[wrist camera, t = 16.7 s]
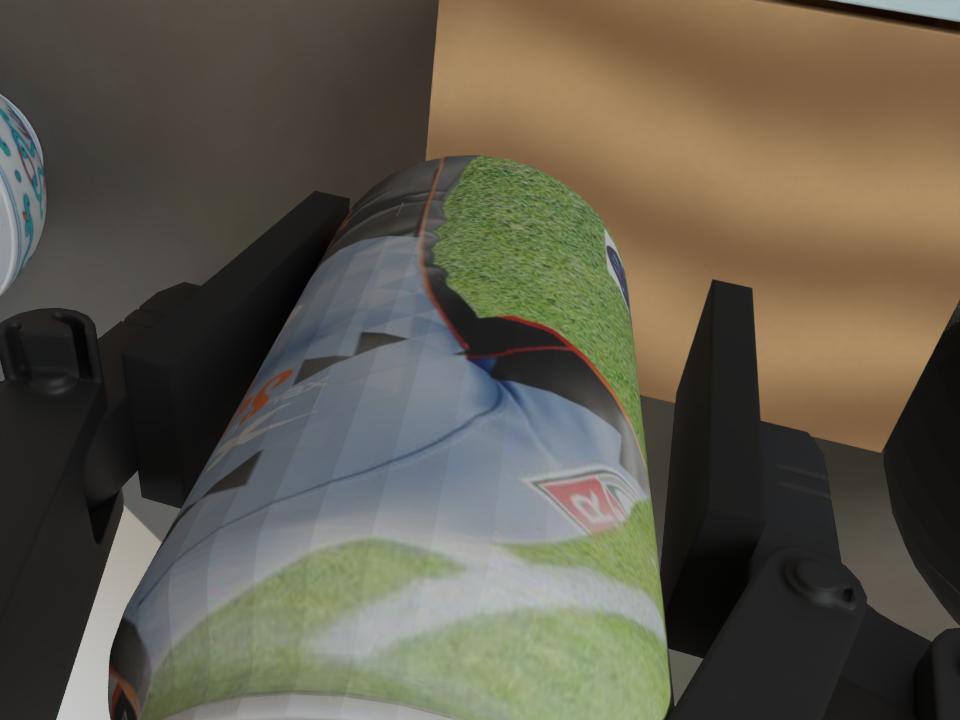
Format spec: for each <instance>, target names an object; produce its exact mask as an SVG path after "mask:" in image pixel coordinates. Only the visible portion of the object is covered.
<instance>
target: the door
mask: <svg viewBox="0 0 960 720" xmlns="http://www.w3.org/2000/svg"><path fill="white" fill-rule="evenodd" d="M830 1H836V2H842V3H848V4H854V5H860V6H866V7H872V8H878V9H884V10H890V11H896V12H902V13H908V14H914V15H920V16H926V17H932V18H938V19H944V20H950V21H956V22H960V0H830Z"/></svg>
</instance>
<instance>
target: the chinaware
mask: <svg viewBox="0 0 960 720" xmlns="http://www.w3.org/2000/svg"><path fill="white" fill-rule="evenodd" d="M46 208H47V190H46V181H45V175H44V170H43V155H42V150H41V146H40V143H39V140H38V138H37V136H36V134H35V132H34V130H33V128H32V126H31V125H30V123H29V122H28V120H27V119H26V117H25V116H24V115H23V114H22V112H21V111H20V110H19V109H18V108H17V107H16V106H15V105H14V104H13V103H12V102H10V101H9V100H8V99H7V98H5V97H4V96H3V95H1V94H0V296H1V295H2V294H3V293H4V292H5V291H6V290H7V289H8V288H9V287H10V286H11V285H12V284H13V282H14V281H15V280H16V279H17V278H18V276H19V275H20V274H21V272H22V271H23V270H24V268H25V267H26V265H27V264H28V262H29V260H30V259H31V257H32V255H33V253H34V251H35V249H36V247H37V245H38V242H39V240H40V237H41V234H42V231H43V227H44V222H45V217H46Z"/></svg>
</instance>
